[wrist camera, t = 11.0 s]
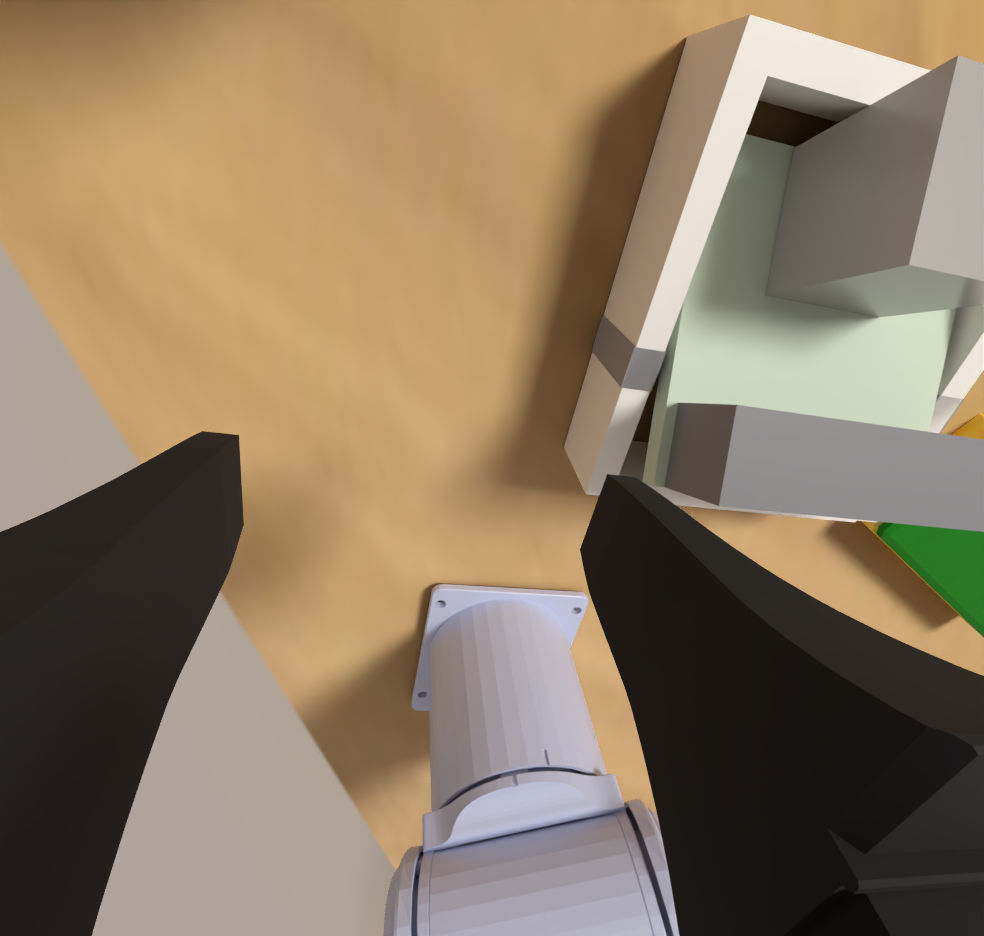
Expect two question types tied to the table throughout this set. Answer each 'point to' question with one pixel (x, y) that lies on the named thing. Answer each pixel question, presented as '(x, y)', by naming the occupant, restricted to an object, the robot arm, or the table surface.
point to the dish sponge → (944, 554)
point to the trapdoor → (802, 387)
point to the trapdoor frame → (690, 214)
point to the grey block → (890, 203)
